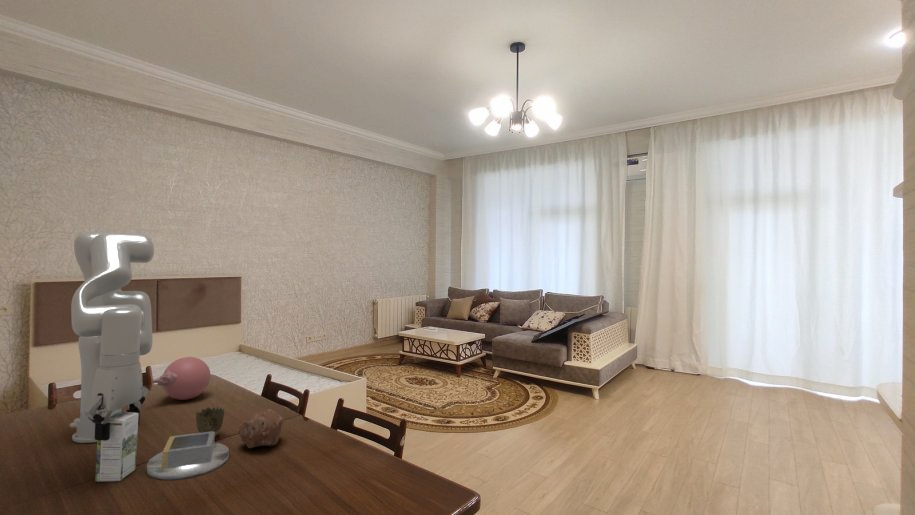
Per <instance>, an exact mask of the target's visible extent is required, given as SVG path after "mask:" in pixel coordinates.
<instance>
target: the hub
mask: <svg viewBox="0 0 915 515" xmlns="http://www.w3.org/2000/svg"><path fill="white" fill-rule="evenodd" d="M215 438H216V437H215V431H211V432H203V433H200V432H197V433H188V434H186V433H185V434H179V435H171V436H169V438H168V440H167V442H166V443H165V445H164V448H163V451H161V452H159V453H157V454H155V455H154V456H153V457H151V458H150V459H149V460H148V462H147V464H146V474H147V475H148V476H149V477H151V478H153V479H157V480H161V481H162V480H163V481H165V480H166V481H169V480H170V481H171V480H172V481H173V480H175V481H177V480H185V479H189V478H194V477H198V476H201V475H204V474H207V473H210V472H213V471H215V470H216V469H218V468H220V467H221V466H223V465H224V464H225V463H226V462H227V461H228V459H229V456H230V453H229V451H230V450H229V447H228V446H227V445H226V444H224V443H223V444H222V443H221V442H220V443H219V442H215Z"/></svg>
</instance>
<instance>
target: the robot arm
mask: <svg viewBox="0 0 915 515" xmlns="http://www.w3.org/2000/svg"><path fill="white" fill-rule="evenodd" d="M73 242H74V243H73V244H74V245H73V249H74V256H75V259H76V262H77V264H78V266H79V268H80V271H81V273H82V276H83V279H84V281H83V282H82V284H80V286H79V287H78V288H77V289H76V290H75V292H74V294H73V296H72V299H71V308H70V309H71V311H70V312H71V313H70V314H71V328H72V330H73V331H72V332H74V334H75V335H76V336H78V352H79V358H80V369H81V370H80V373H81V374H80V376H81V378H80V379H81V380H80V408H79V409H80V411H79V414H80V416H79V417H77V418H75V419H74V420H73V422H71V423H70V424H69V428H76V431H75V432H74V433H73V434H72V436H71V437H72V438H71V439H72V441H73V442H74V443H78V444H91V443H97V440H103V441H106V440H109V438H110V423H108V422H107V421H108V419H109V417H110V415H111V414H113V413H117V412H123V408H124V407H127V408H128V409H126V411H125V412H133V413H138V427H139V426H140V419H141V410H142V409H143V404H144V402H145V401H146V397H147V395H148V393H149V388H147V387H145V386H143V371H142V365H141V362H140V356H145V355H147V354H148V353H150V352H151V350H152V348H153V321H152V320H153V319H152V304H151V300H150V296H149V295H148V294H147V293H146V292H144V291H141V290H122V288H124V287H125V286H127V285H128V284H130V282H131V281H132V280H133V272H132V267H131V265H132V264H131V263H133V264H134V263H135V264H137V263H139V264H143V263H144V264H145V263H146V264H147V263H150V262H151V261H152V260H153V257H154V254H155V248H154V246H155V245H154V242H153V241H152V238H151V237H150V236H148V235H147V234H141V233H140V234H139V233H124V232H123V233H121V232H119V233H118V232H106V231H104V232H100V231H96V232H93V231H90V232H84V233H80V234H79V235H77V236H76V237H75V238H74V241H73Z"/></svg>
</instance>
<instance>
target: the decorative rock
mask: <svg viewBox="0 0 915 515" xmlns="http://www.w3.org/2000/svg"><path fill="white" fill-rule="evenodd" d="M283 422H284V418H283V417H282V416H281V415H280V414H279V413H278V412H276V411H275V410H273V409H270V408H269V409H267V410H265V409H263V410H260V411H258V412H256V411H255V412H253V413H252V414H251V415H246V417H245V418H244V419H243V420H242V422H241V423H240V424H239V427H238V430H237V431H238V432H237V433H238V434H239V437H240V440H241V441H242V442H243V443H245V446H246V447H247V448H248V449H253V448H255V447H257V448H258V447H262V446H263V447H274V446H275V445H277V444H278V442H279V440H280V436H281V433H282V426H283Z"/></svg>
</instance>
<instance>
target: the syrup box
mask: <svg viewBox="0 0 915 515" xmlns="http://www.w3.org/2000/svg"><path fill="white" fill-rule="evenodd" d="M107 422H108V423H110V438H109V440H106V441H103V440H97V442H96V457H95V458H96V463H95V476H94V478H95V480H94V481H95V482H120V481H122V480H124V479H125V478H127V477H128V476H129V475H131V474H132V473H134V472H135V471H136V469H137V452H138V451H137V449H138V432H139V431H138V430H139V428H138V427H139V426H138V413H133V412H126V411H122V412H117V413H113V414H111V415H110V417H109V419H108V421H107Z"/></svg>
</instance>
